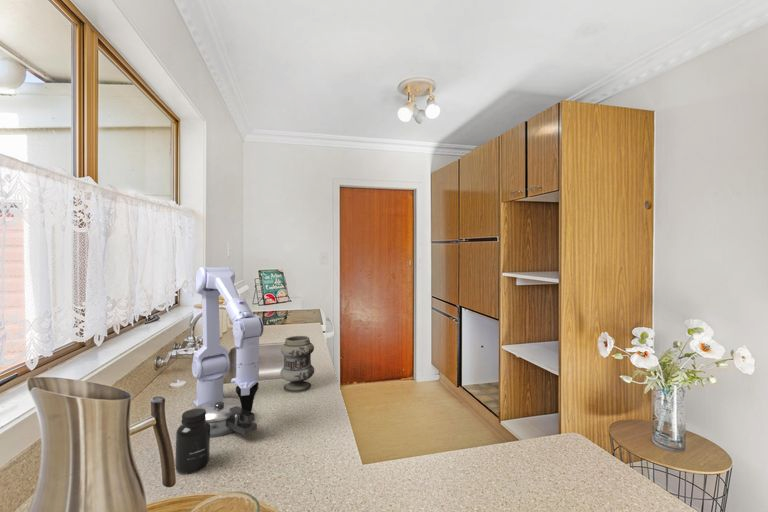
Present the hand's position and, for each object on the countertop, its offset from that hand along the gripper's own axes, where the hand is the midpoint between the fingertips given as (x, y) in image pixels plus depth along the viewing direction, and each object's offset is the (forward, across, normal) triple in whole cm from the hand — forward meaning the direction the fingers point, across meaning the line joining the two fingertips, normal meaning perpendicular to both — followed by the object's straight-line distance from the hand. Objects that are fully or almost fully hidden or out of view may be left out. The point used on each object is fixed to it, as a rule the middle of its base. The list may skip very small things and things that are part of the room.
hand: (247, 412), depth 95 cm
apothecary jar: (+6, -29, +15) cm, 33 cm away
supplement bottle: (+6, +13, -10) cm, 18 cm away
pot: (+5, -3, -5) cm, 8 cm away
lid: (+1, -3, -5) cm, 6 cm away
